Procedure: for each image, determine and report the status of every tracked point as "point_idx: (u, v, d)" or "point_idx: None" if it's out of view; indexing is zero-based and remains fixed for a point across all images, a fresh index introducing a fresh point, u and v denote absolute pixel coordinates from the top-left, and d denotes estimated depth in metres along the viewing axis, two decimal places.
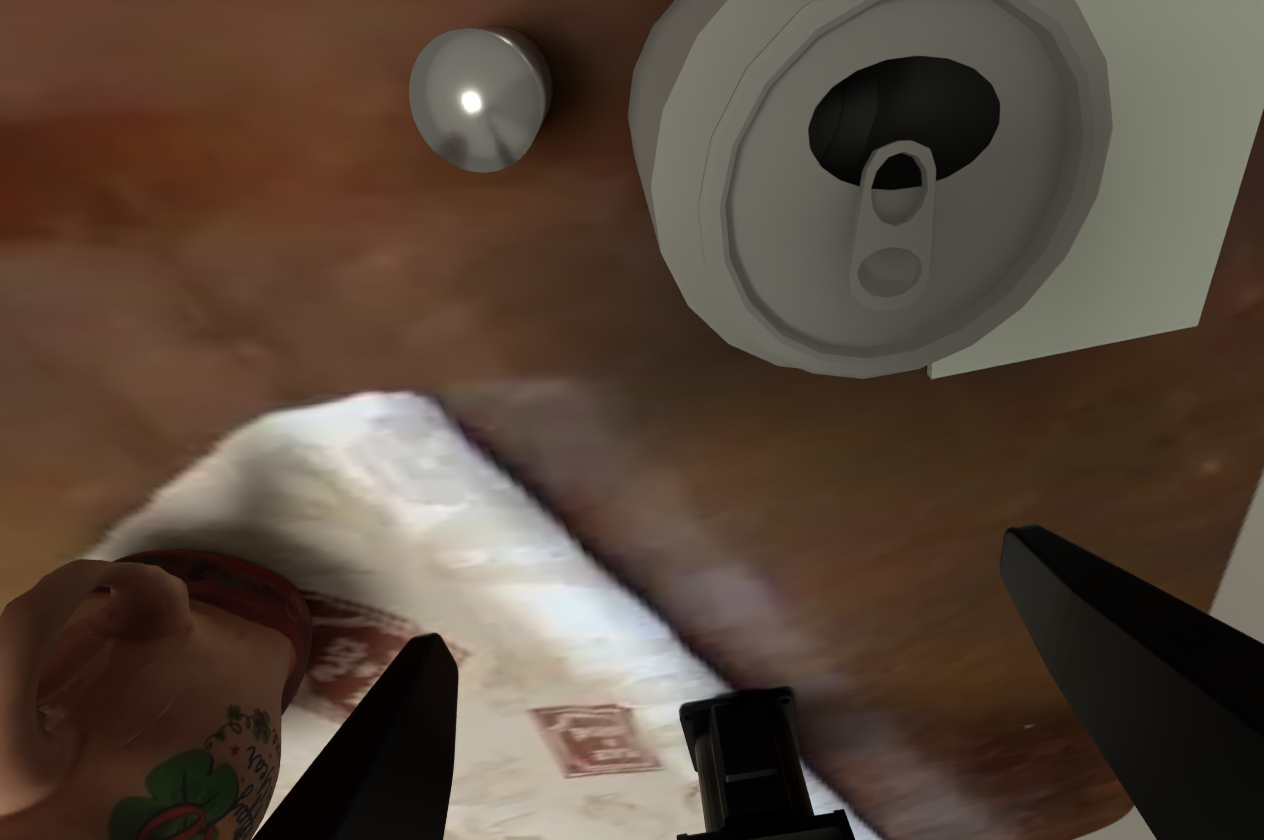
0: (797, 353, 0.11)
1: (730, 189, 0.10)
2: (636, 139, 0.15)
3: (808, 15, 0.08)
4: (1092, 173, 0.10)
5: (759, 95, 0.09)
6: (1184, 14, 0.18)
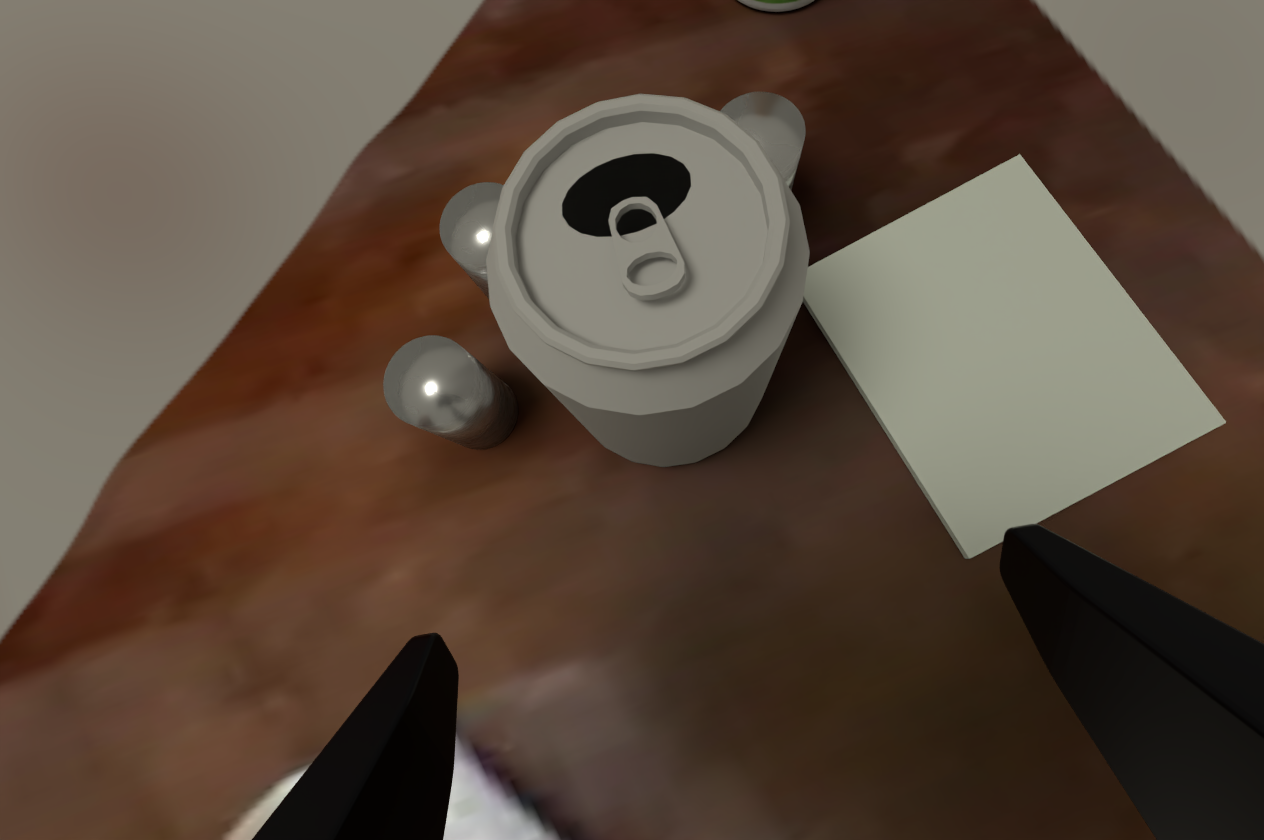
0: (610, 353, 0.13)
1: (524, 265, 0.14)
2: None
3: (527, 152, 0.14)
4: (763, 166, 0.13)
5: (513, 197, 0.14)
6: (963, 217, 0.24)
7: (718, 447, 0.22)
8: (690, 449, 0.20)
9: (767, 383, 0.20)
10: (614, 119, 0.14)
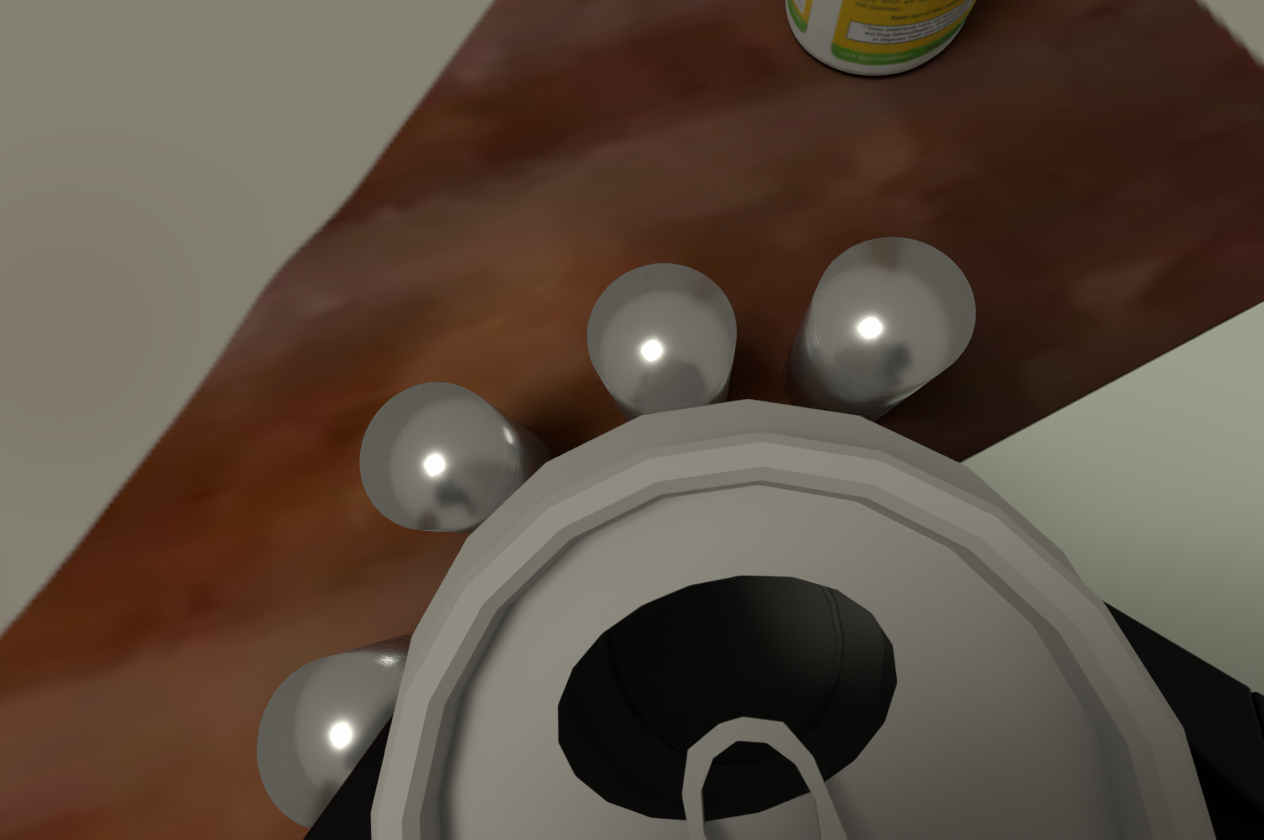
0: None
1: None
2: None
3: (466, 589, 0.05)
4: (1130, 691, 0.05)
5: (428, 723, 0.05)
6: (1181, 401, 0.16)
7: None
8: None
9: None
10: (691, 490, 0.05)
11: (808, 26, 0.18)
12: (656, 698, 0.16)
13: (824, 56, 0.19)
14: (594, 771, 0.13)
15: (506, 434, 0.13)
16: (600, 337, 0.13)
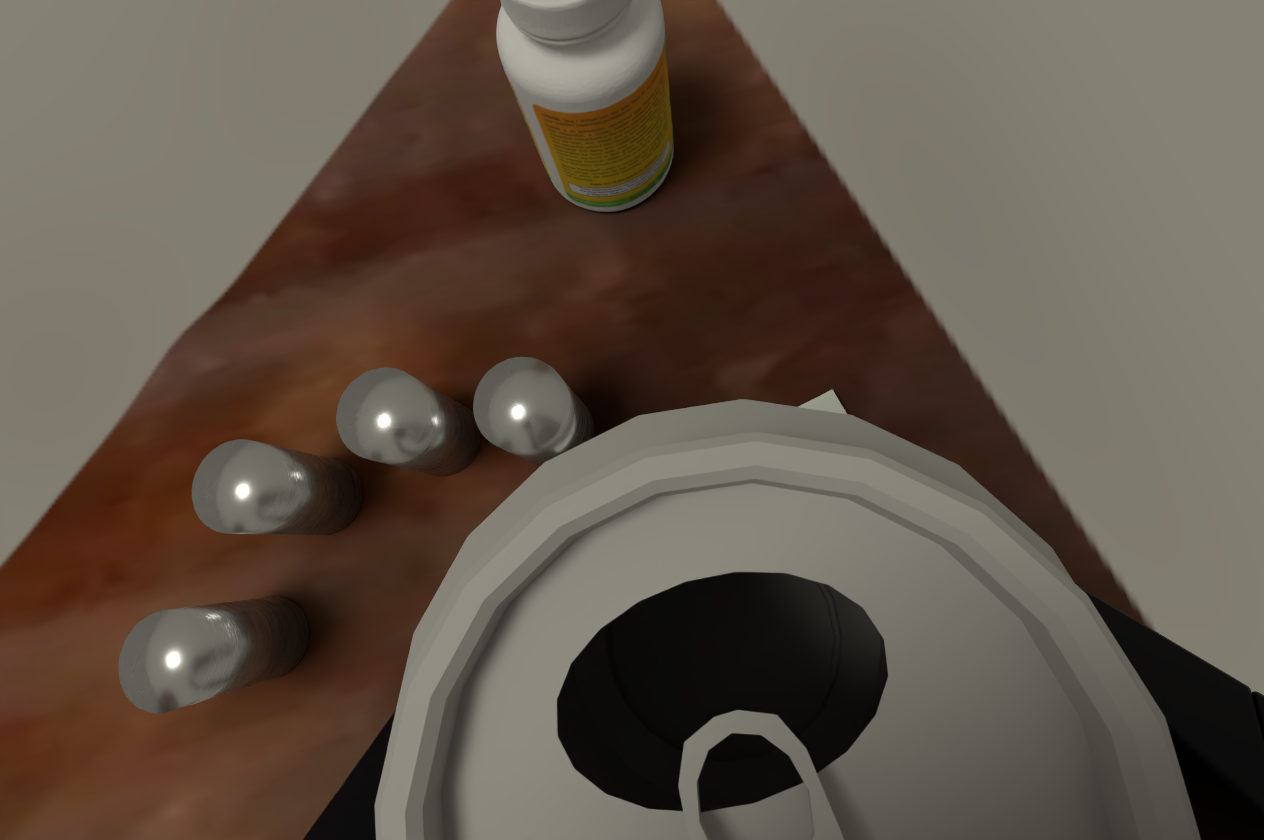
0: None
1: None
2: None
3: (466, 586, 0.05)
4: (1114, 682, 0.05)
5: (430, 717, 0.05)
6: None
7: None
8: None
9: None
10: (686, 489, 0.06)
11: (551, 178, 0.25)
12: (655, 695, 0.16)
13: (566, 197, 0.26)
14: (594, 767, 0.13)
15: (286, 473, 0.20)
16: (344, 414, 0.20)
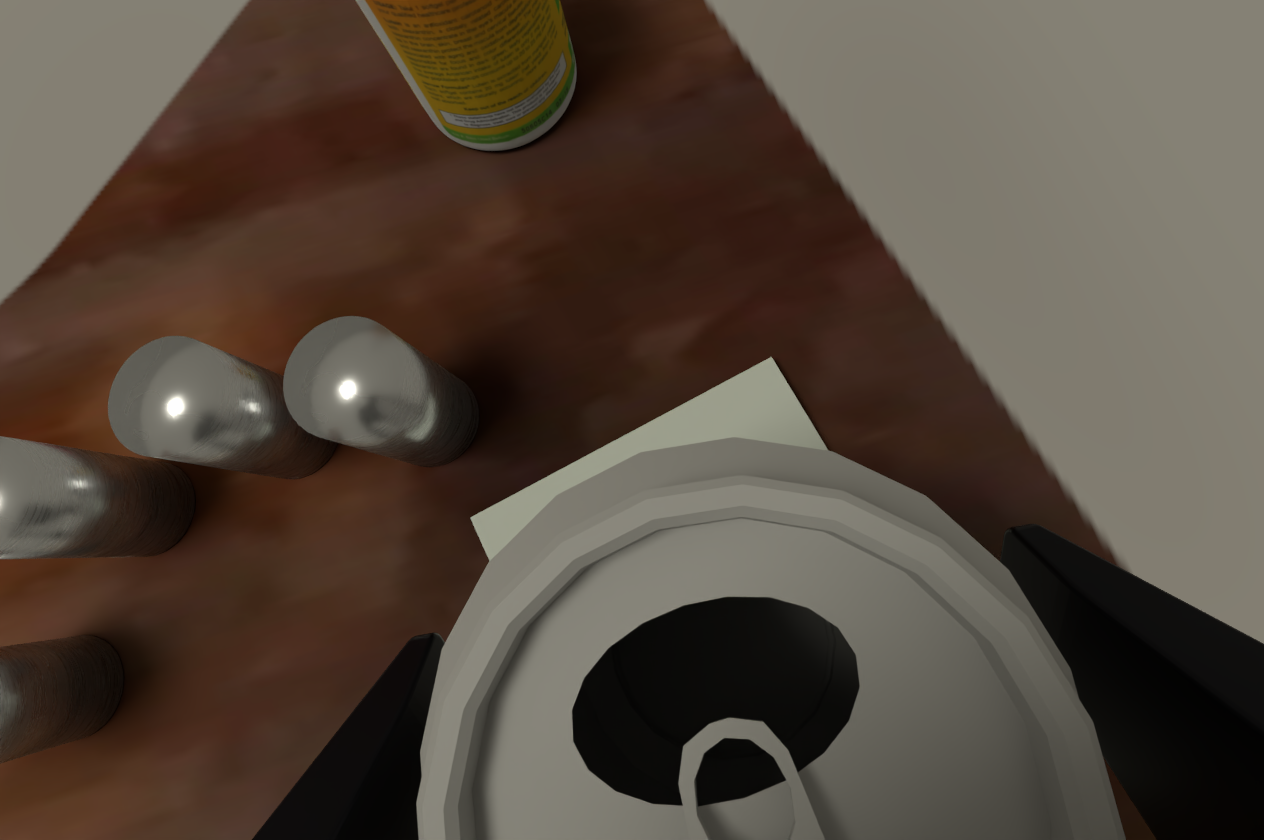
0: None
1: None
2: None
3: (493, 612, 0.06)
4: (1049, 692, 0.06)
5: (463, 726, 0.06)
6: (693, 443, 0.18)
7: None
8: None
9: None
10: None
11: (425, 109, 0.21)
12: (659, 697, 0.17)
13: (446, 134, 0.21)
14: (601, 767, 0.14)
15: (46, 478, 0.16)
16: (118, 398, 0.15)
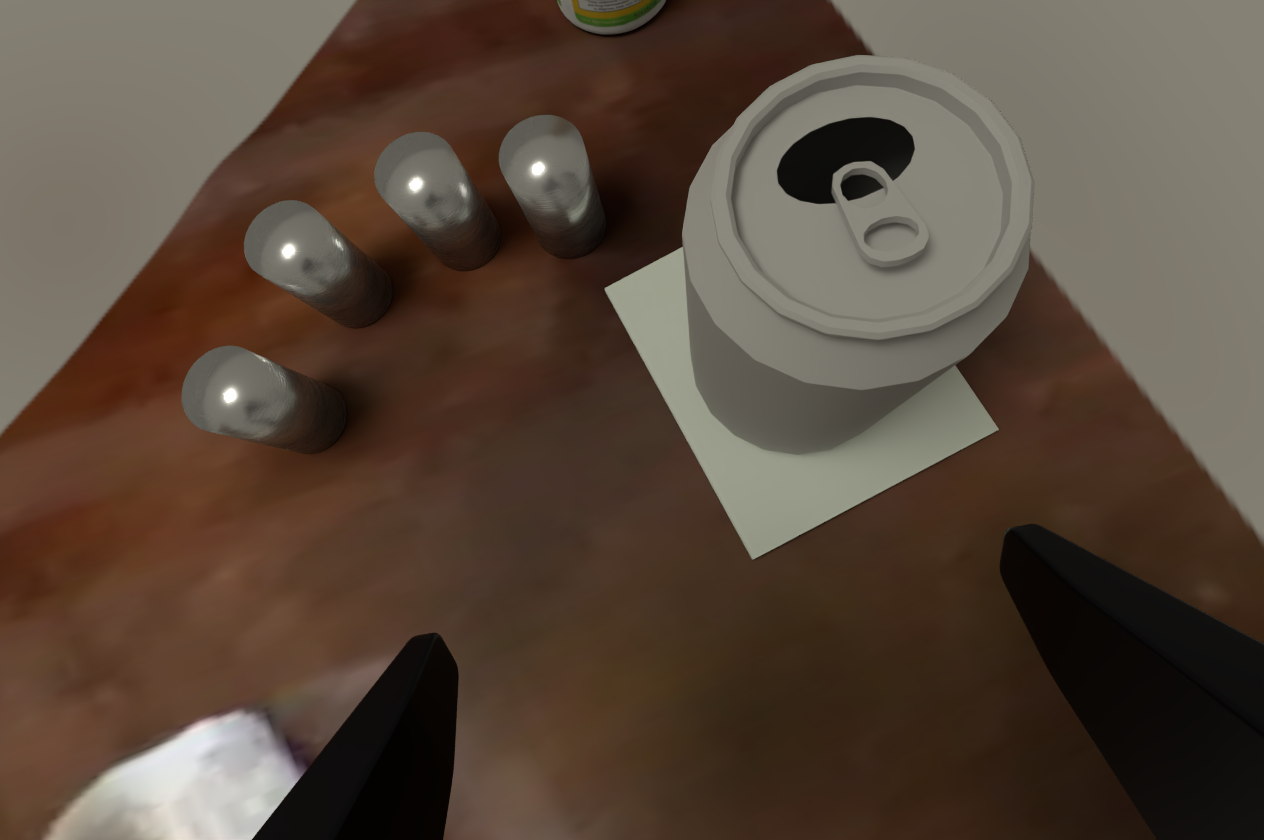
0: (853, 323, 0.12)
1: (741, 235, 0.13)
2: (693, 343, 0.19)
3: (742, 117, 0.13)
4: (1001, 126, 0.12)
5: (731, 164, 0.13)
6: None
7: (860, 432, 0.21)
8: (847, 433, 0.19)
9: None
10: (829, 82, 0.13)
11: (560, 1, 0.28)
12: None
13: (575, 21, 0.28)
14: (720, 410, 0.21)
15: (329, 230, 0.23)
16: (381, 173, 0.22)
